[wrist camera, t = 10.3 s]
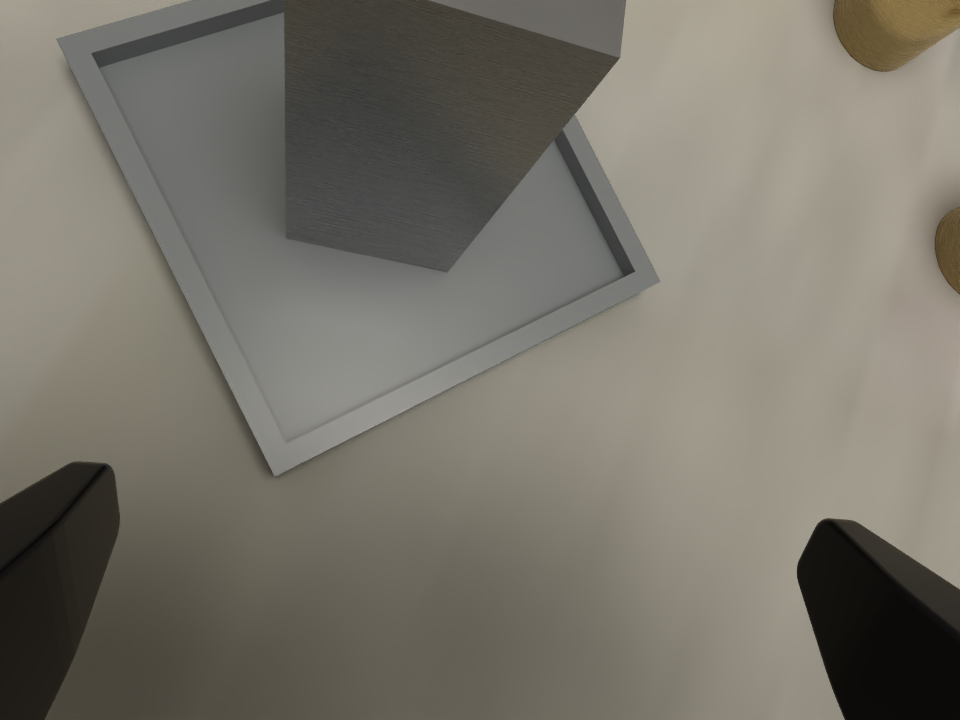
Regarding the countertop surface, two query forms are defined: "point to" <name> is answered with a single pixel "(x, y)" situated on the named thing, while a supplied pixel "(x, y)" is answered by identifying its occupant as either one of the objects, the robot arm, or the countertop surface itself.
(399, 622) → the countertop surface
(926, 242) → the countertop surface
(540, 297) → the tray
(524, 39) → the pillar with dark dome
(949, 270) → the cylinder
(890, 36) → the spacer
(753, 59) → the countertop surface
